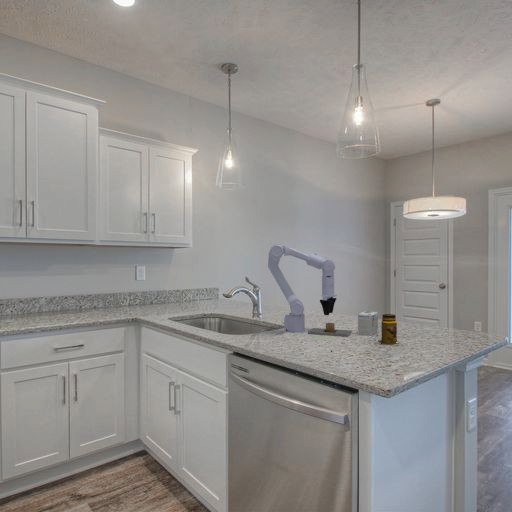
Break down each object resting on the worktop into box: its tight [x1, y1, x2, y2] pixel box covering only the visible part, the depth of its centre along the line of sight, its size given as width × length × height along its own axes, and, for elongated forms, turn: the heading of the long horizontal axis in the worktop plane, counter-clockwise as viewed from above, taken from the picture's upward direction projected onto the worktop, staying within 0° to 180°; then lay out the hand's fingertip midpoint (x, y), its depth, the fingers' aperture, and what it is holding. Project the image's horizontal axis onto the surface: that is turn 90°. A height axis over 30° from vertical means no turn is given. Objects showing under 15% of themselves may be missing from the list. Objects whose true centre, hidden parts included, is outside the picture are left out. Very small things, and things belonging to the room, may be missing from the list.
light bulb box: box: [357, 311, 379, 337], centre depth 171 cm, size 11×7×11 cm, turn 149°
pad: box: [310, 335, 338, 342], centre depth 160 cm, size 10×7×2 cm
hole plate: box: [307, 327, 353, 338], centre depth 171 cm, size 18×10×3 cm, turn 66°
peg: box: [325, 322, 336, 333], centre depth 171 cm, size 4×4×6 cm
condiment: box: [375, 313, 400, 346], centre depth 157 cm, size 7×8×12 cm
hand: (328, 314), depth 177 cm, fingers open, 7 cm apart
